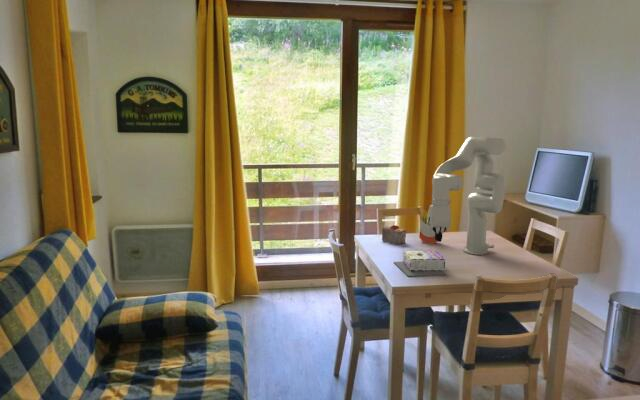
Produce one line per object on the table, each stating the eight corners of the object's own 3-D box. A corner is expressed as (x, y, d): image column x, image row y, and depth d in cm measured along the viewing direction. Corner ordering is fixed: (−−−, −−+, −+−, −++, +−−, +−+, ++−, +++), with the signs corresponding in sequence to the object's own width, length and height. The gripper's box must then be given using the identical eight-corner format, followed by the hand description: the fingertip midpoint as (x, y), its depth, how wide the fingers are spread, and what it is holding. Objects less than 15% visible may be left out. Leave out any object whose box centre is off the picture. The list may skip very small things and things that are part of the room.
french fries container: (437, 244, 267) (438, 213, 263) (418, 241, 273) (420, 210, 269) (440, 243, 270) (441, 211, 267) (422, 240, 276) (423, 209, 273)
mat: (428, 261, 237) (428, 260, 237) (445, 274, 218) (445, 273, 218) (393, 263, 234) (393, 261, 234) (407, 276, 215) (407, 275, 215)
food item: (408, 243, 270) (408, 226, 268) (400, 246, 264) (400, 228, 262) (388, 238, 279) (388, 222, 277) (379, 241, 273) (380, 224, 271)
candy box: (435, 261, 235) (402, 262, 234) (436, 250, 234) (403, 250, 233) (444, 271, 221) (409, 271, 220) (445, 259, 220) (410, 259, 219)
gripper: (451, 200, 227) (449, 238, 230) (421, 201, 224) (420, 239, 227) (459, 203, 219) (456, 242, 223) (428, 204, 217) (426, 243, 220)
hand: (438, 241), depth 225 cm, fingers closed
